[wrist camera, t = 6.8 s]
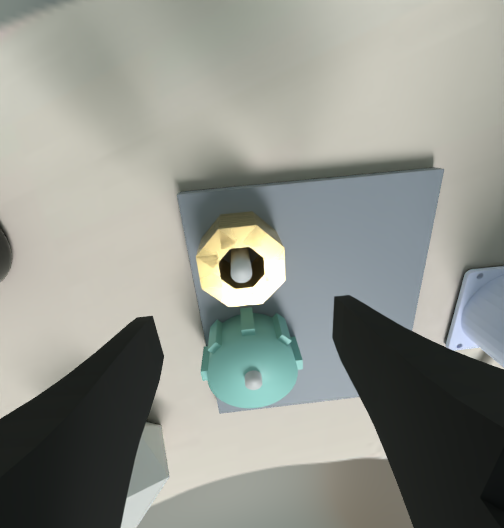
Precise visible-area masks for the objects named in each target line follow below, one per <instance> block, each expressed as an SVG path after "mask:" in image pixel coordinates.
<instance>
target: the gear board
mask: <svg viewBox="0 0 504 528" xmlns="http://www.w3.org/2000/svg"><path fill="white" fill-rule="evenodd" d="M443 173H444V169H441V168H424V169H413V170H403V171H393V172H382V173H372V174H362V175H351V176H341V177H330V178H320V179H310V180H299V181H289V182H278V183H268V184H258V185H247V186H237V187H227V188H216V189H206V190H195V191H185V192H179V193H178V194H177V198H178V203H179V208H180V213H181V218H182V224H183V229H184V234H185V239H186V244H187V249H188V254H189V259H190V265H191V270H192V275H193V280H194V285H195V290H196V295H197V300H198V306H199V311H200V316H201V321H202V326H203V331H204V336H205V341H206V347H204V350H203V358H202V365H201V375H202V380H203V381H205V380H208V384H209V387H210V389H211V391H212V392H213V394H214V395H215V396H216V398H217V403H218V408H219V413H229V412H237V411H246V410H254V409H262V408H271V407H279V406H288V405H296V404H304V403H313V402H321V401H330V400H338V399H347V398H355V397H359V395H358V393H357V391H356V389H355V387H354V385H353V383H352V381H351V380H350V378H349V376H348V374H347V372H346V370H345V368H344V366H343V364H342V362H341V360H340V358H339V355H338V352H337V350H336V347H335V344H334V341H333V338H332V331H333V311H334V297H335V296H344V295H350V296H352V297H354V298H356V299H358V300H359V301H361V302H363V303H364V304H366V305H368V306H369V307H371V308H373V309H374V310H376V311H377V312H379V313H381V314H382V315H384V316H386V317H388V318H389V319H391V320H393V321H394V322H396V323H398V324H400V325H402V326H403V327H405V328H407V329H409V330H411V331H412V328H413V323H414V318H415V313H416V308H417V303H418V298H419V293H420V288H421V283H422V278H423V273H424V268H425V263H426V258H427V253H428V248H429V243H430V238H431V233H432V228H433V223H434V218H435V213H436V208H437V203H438V198H439V193H440V188H441V183H442V178H443ZM250 211H253V212H254V213H255V214H256V215H258V216H259V217H260V218H261V219H262V220H264V221H265V222H266V223H267V224H269V225H270V226H271V227H272V228H273V229H275V230H276V232H277V234H278V236H279V238H280V240H281V242H282V244H283V246H284V253H285V281H284V282H283V283H282V284H281V285H280V286H279V287H278V288H277V289H276V290H275V291H274V292H273V293H272V294H271V295H270V296H269V297H268V298H267V299H266V300H265V301H264V302H263V303H262V304H252V305H243V306H234V307H228V306H227V305H225V304H224V303H222V302H221V301H219V300H218V299H216V298H215V297H213V296H212V295H210V294H209V293H207V292H206V291H204V290H203V289H202V288H201V283H200V277H199V272H198V266H197V261H196V254H197V251H198V248H199V244H200V241H201V238H202V237H203V236H204V234H205V233H206V232H207V231H208V229H209V228H210V227H211V226H212V224H213V223H214V222H215V221H216V219H217V218H218V217H219V216H220V214H229V213H240V212H250ZM258 256H259V254H258V253H257V252H255V251H254V250H253V249H252V248H250V247H243V248H233V249H230V250H229V251H228V252H227V253H226V254H225V255H224V257H223V259H225V260H226V261H227V262H229V263H230V264H231V277H232V279H233V280H234V281H236V282H238V283H245V282H247V281H249V280H250V278H251V277H252V268H251V263H252V262H253V261H254V260H255V259H256V258H257V257H258Z"/></svg>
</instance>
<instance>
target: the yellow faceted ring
mask: <svg viewBox="0 0 504 528" xmlns="http://www.w3.org/2000/svg"><path fill="white" fill-rule="evenodd" d="M243 247H250V248H252V249H253V250H254V251H255V252H257V253H258V254H259V256H258V257H257V258H256V259H255V260H254V261H253V262H252V263H251V268H252V277H251V278H250V280H249V281H247V282H245V283H238V282H236V281H234V280H233V279H232V277H231V264H230V263H229V262H227V261H226V260H225V259H223V257H224V255H225V254H226V253H227V252H228V251H229V250H230V249H233V248H243ZM196 261H197V266H198V272H199V277H200V283H201V288H202V289H203V290H204V291H206V292H207V293H209V294H210V295H212V296H213V297H215V298H216V299H218V300H219V301H221V302H222V303H224V304H225V305H227V306H228V307H234V306H243V305H252V304H262V303H263V302H264V301H265V300H266V299H267V298H268V297H269V296H270V295H271V294H272V293H273V292H274V291H275V290H276V289H277V288H278V287H279V286H280V285H281V284H282V283H283V282H284V281H285V253H284V246H283V244H282V242H281V240H280V238H279V236H278V234H277V232H276V230H275V229H273V228H272V227H271V226H270V225H269V224H267V223H266V222H265V221H264V220H262V219H261V218H260V217H259V216H258V215H256V214H255V213H254V212H253V211H250V212H240V213H229V214H220V216H219V217H218V218H217V219H216V221H215V222H214V223H213V224H212V226H211V227H210V228H209V229H208V231H207V232H206V233H205V234H204V236H203V237H202V238H201V241H200V244H199V248H198V251H197V254H196Z"/></svg>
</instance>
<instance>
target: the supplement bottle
mask: <svg viewBox="0 0 504 528" xmlns="http://www.w3.org/2000/svg"><path fill="white" fill-rule="evenodd" d="M11 263H12V253H11V248H10V245H9V242H8V240H7V238H6V236H5V234H4V233H3V231H2V230H1V228H0V282H1V281H2V280H3V279H4V278H5V277H6V276H7V274H8V272H9V270H10V268H11Z"/></svg>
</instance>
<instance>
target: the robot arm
mask: <svg viewBox="0 0 504 528" xmlns="http://www.w3.org/2000/svg"><path fill="white" fill-rule="evenodd" d="M478 274H479V275H478ZM477 275H478V276H477ZM332 338H333V341H334V344H335V347H336V350H337V352H338V355H339V358H340V360H341V362H342V364H343V366H344V368H345V370H346V372H347V374H348V376H349V378H350V380H351V381H352V383H353V385H354V387H355V389H356V391H357V393H358V395H359V397H360V398H361V400H362V402H363V404H364V406H365V408H366V410H367V412H368V414H369V416H370V418H371V420H372V422H373V424H374V426H375V429H376V431H377V434H378V436H379V439H380V441H381V443H382V446H383V448H384V451H385V453H386V456H387V458H388V461H389V463H390V466H391V468H392V471H393V473H394V476H395V479H396V481H397V484H398V486H399V489H400V492H401V494H402V497H403V500H404V503H405V505H406V508H407V510H408V513H409V516H410V519H411V522H412V524H413V527H414V528H504V369H501V368H498V367H495V366H492V365H489V364H487V363H484V362H481V361H479V360H476V359H473V358H470V357H468V356H465V355H463V354H460V353H458V352H455V351H453V350H462V349H470V348H479V347H480V348H481V349H482V350H483V351H485V352H486V353H487V354H488V355H489V356H491V357H492V358H493V359H494V360H495V361H497V362H498V363H499V364H500V365H501V366H502V367H504V266H498V267H489V268H479V269H471V270H469V271H467V272H466V273H465V275H464V279H463V282H462V286H461V290H460V293H459V297H458V301H457V305H456V308H455V312H454V316H453V319H452V323H451V327H450V330H449V334H448V338H447V342H446V347H447V348H446V347H444V346H442V345H440V344H437V343H435V342H433V341H431V340H429V339H427V338H425V337H423V336H421V335H419V334H417V333H415V332H413V331H411V330H409V329H407V328H405V327H403V326H402V325H400V324H398V323H396V322H394V321H393V320H391V319H389V318H388V317H386V316H384V315H382V314H381V313H379V312H377V311H376V310H374V309H373V308H371V307H369V306H368V305H366V304H364V303H363V302H361V301H359V300H358V299H356V298H354V297H352V296H350V295H344V296H335V297H334V311H333V331H332ZM163 359H164V355H163V351H162V348H161V344H160V340H159V337H158V333H157V330H156V326H155V323H154V319H153V316H147V317H138V318H136V319H134V320H133V321H132V322H131V323H129V324H128V325H127V326H126V327H125V328H123V329H122V330H121V331H120V332H119V333H118V334H117V335H115V336H114V337H113V338H112V339H111V340H110V341H108V342H107V343H106V344H105V345H104V346H103V347H101V348H100V349H99V350H98V351H97V352H96V353H94V354H93V355H92V356H91V357H89V358H88V359H87V360H85V361H84V362H83V363H82V364H80V365H79V366H78V367H77V368H75V369H74V370H73V371H72V372H70V373H69V374H68V375H66V376H65V377H64V378H62V379H61V380H60V381H58V382H57V383H55V384H54V385H52V386H51V387H50V388H48V389H47V390H45V391H44V392H42V393H41V394H39V395H38V396H36V397H35V398H33V399H32V400H30V401H29V402H27V403H25V404H24V405H22V406H20V407H19V408H17V409H16V410H14V411H12V412H11V413H9V414H7V415H6V416H4V417H3V418H1V419H0V528H121V524H122V518H123V514H124V509H125V504H126V499H127V494H128V489H129V484H130V480H131V475H132V471H133V467H134V462H135V458H136V453H137V450H138V446H139V443H140V439H141V436H142V433H143V430H144V427H145V424H146V421H147V418H148V415H149V412H150V409H151V406H152V403H153V400H154V396H155V393H156V390H157V387H158V384H159V380H160V375H161V370H162V365H163Z"/></svg>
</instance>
